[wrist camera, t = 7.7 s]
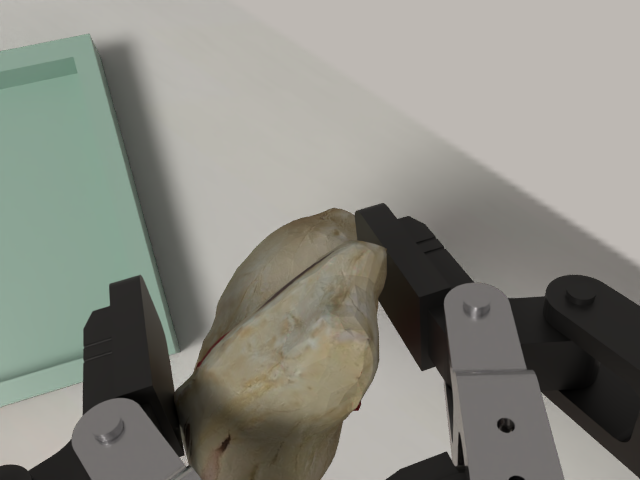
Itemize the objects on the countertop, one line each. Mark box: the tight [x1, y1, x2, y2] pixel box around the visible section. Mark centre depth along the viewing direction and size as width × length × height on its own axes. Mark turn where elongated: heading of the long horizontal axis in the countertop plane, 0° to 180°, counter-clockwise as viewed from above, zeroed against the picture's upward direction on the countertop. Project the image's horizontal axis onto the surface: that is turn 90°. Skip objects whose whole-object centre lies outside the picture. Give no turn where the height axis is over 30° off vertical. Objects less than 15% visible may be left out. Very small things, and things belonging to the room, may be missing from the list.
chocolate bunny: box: [174, 208, 387, 480], centre depth 14 cm, size 6×8×10 cm
